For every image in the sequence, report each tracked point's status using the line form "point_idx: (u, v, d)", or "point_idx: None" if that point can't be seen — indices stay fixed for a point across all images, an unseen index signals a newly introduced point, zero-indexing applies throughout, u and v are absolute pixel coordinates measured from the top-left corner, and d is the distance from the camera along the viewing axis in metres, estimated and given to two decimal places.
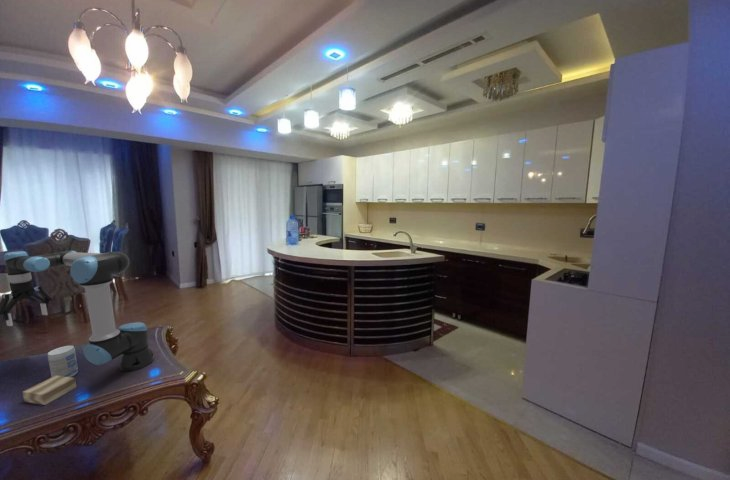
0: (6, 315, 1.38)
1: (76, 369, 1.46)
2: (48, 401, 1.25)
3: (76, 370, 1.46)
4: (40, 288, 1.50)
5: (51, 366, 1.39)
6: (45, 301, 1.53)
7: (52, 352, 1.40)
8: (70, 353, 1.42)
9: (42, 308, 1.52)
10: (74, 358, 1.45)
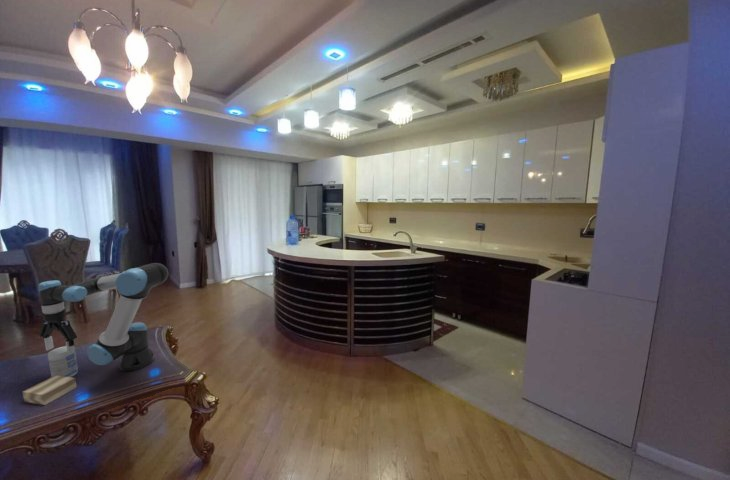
0: None
1: (76, 369, 1.46)
2: (48, 401, 1.25)
3: (76, 370, 1.46)
4: (62, 324, 1.38)
5: (51, 366, 1.39)
6: (67, 339, 1.39)
7: (52, 352, 1.40)
8: (70, 353, 1.42)
9: None
10: (74, 358, 1.45)
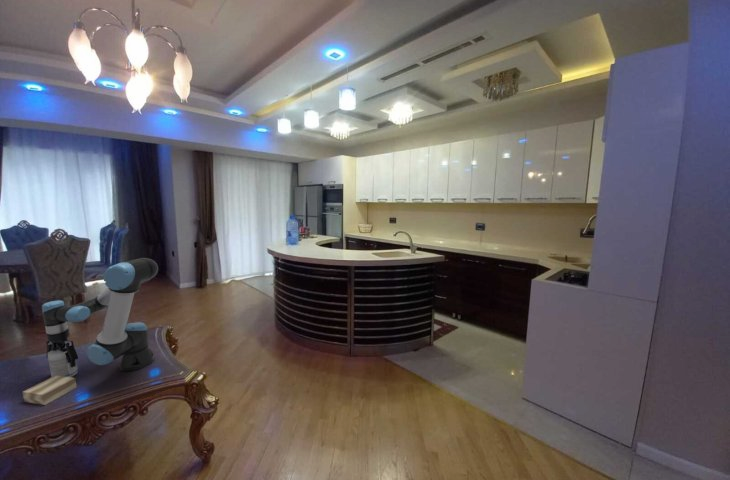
0: None
1: (76, 369, 1.46)
2: (48, 401, 1.25)
3: (76, 370, 1.46)
4: (66, 345, 1.39)
5: (51, 366, 1.39)
6: (68, 360, 1.41)
7: (52, 352, 1.40)
8: None
9: None
10: None
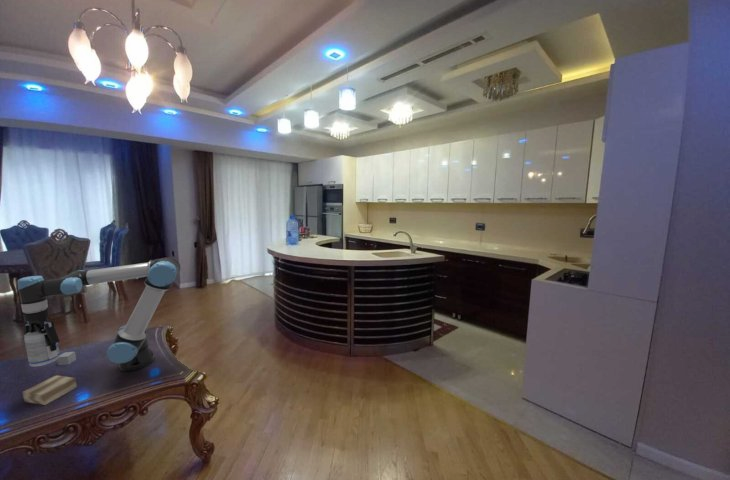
0: None
1: (57, 354, 1.30)
2: (48, 401, 1.25)
3: None
4: (45, 326, 1.24)
5: (28, 349, 1.23)
6: (48, 343, 1.25)
7: (29, 334, 1.24)
8: None
9: None
10: None
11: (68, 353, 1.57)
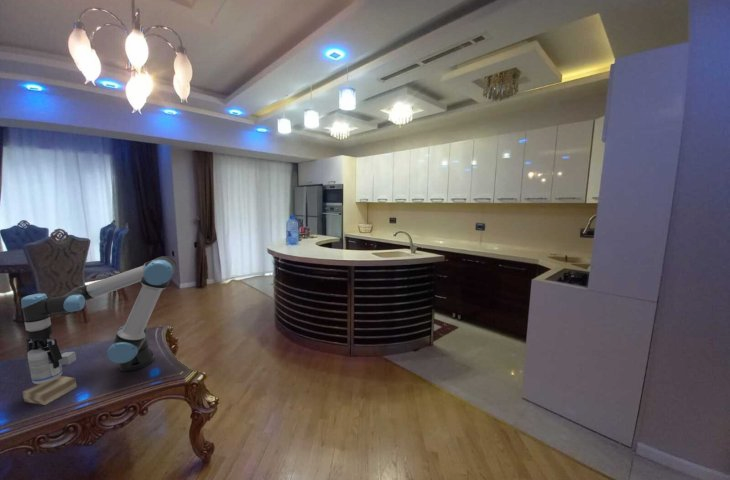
0: None
1: (60, 370, 1.31)
2: (48, 401, 1.25)
3: (60, 371, 1.31)
4: (48, 343, 1.25)
5: (31, 367, 1.24)
6: (51, 360, 1.26)
7: (32, 352, 1.25)
8: None
9: None
10: None
11: (68, 353, 1.57)
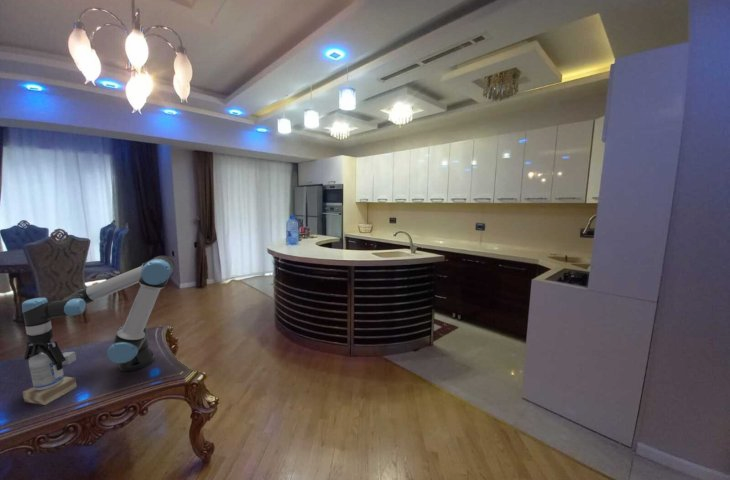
0: None
1: (61, 376, 1.32)
2: (48, 401, 1.25)
3: (61, 378, 1.32)
4: (49, 346, 1.25)
5: (32, 374, 1.25)
6: (54, 362, 1.26)
7: (33, 358, 1.26)
8: None
9: None
10: None
11: (68, 353, 1.57)
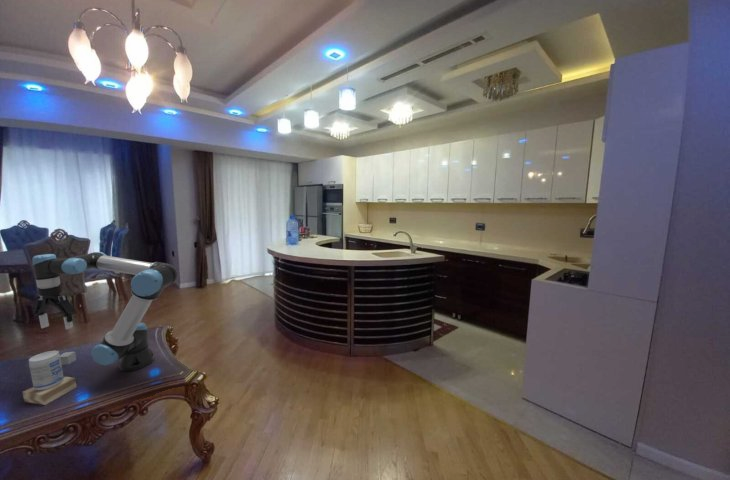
0: None
1: (61, 376, 1.32)
2: (48, 401, 1.25)
3: (61, 378, 1.32)
4: (60, 299, 1.33)
5: (33, 374, 1.25)
6: (65, 314, 1.34)
7: (34, 358, 1.26)
8: (54, 358, 1.28)
9: None
10: (59, 364, 1.31)
11: (68, 353, 1.57)
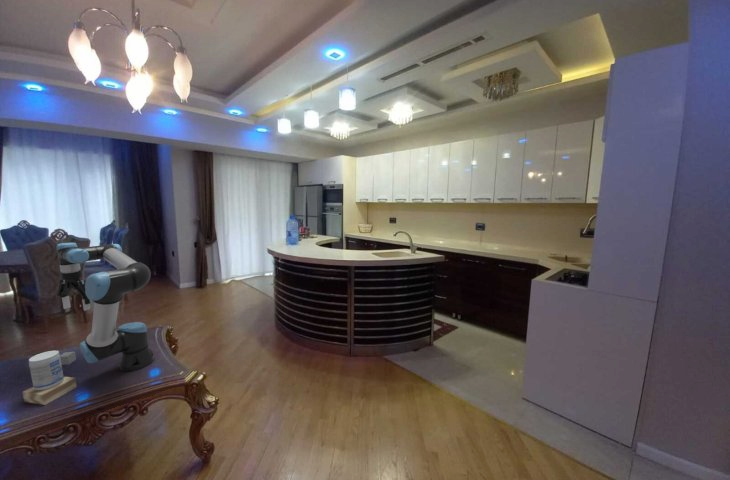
0: None
1: (61, 376, 1.32)
2: (48, 401, 1.25)
3: (61, 378, 1.32)
4: (79, 283, 1.48)
5: (33, 374, 1.25)
6: (83, 297, 1.49)
7: (34, 358, 1.26)
8: (54, 358, 1.28)
9: None
10: (59, 364, 1.31)
11: (68, 353, 1.57)
